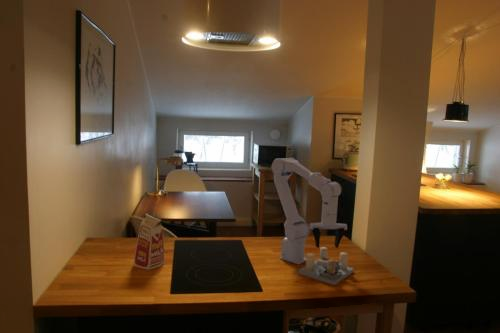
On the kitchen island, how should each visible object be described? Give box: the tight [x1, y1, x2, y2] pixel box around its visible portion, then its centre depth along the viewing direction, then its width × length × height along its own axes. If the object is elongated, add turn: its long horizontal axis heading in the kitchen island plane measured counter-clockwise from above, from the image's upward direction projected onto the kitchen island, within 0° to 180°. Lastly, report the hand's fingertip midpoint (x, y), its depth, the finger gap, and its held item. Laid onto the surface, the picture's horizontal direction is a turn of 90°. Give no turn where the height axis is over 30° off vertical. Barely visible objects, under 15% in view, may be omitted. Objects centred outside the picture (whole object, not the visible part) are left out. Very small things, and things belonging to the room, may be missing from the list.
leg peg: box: [327, 259, 336, 276], centre depth 137 cm, size 3×3×6 cm
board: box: [298, 246, 354, 286], centre depth 144 cm, size 15×17×8 cm
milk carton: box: [132, 213, 166, 271], centre depth 144 cm, size 9×9×20 cm
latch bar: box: [316, 258, 341, 270], centre depth 142 cm, size 9×2×2 cm, turn 65°
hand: (326, 247), depth 145 cm, fingers open, 7 cm apart
